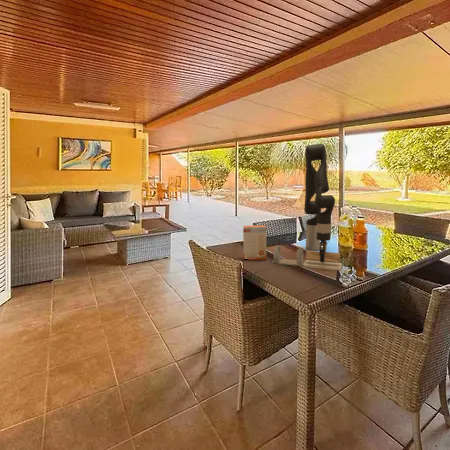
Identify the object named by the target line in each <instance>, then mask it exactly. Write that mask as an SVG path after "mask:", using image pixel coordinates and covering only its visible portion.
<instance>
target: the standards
mask: <svg viewBox="0 0 450 450" xmlns="http://www.w3.org/2000/svg"><path fill="white" fill-rule="evenodd" d="M281 249H282V248H281V245H275V247H273V259H272V261H271V264H277V265H288V266H297V267H298V266H299V267H303V264H304V263H305V261H306V260H304V247H303V246H302V247H300V246H299V247H298V249H297V250H296V259H287V258H281Z"/></svg>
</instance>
